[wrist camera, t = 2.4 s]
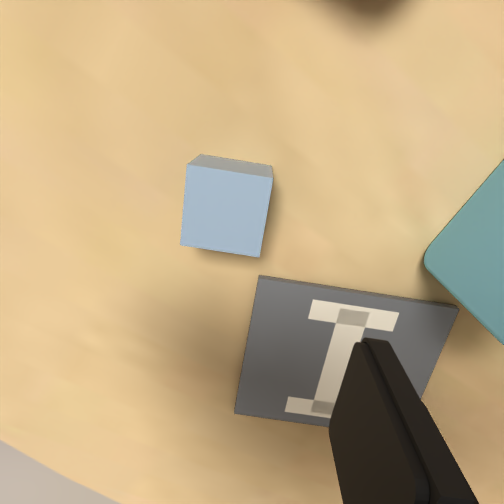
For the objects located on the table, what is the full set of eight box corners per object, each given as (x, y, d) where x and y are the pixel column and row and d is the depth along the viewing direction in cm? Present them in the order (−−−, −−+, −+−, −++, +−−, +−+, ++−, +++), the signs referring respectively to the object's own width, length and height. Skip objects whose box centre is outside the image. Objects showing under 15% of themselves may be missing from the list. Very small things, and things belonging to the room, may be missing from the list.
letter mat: (455, 305, 29) (459, 309, 28) (401, 432, 34) (403, 437, 34) (258, 274, 28) (258, 278, 28) (234, 408, 34) (234, 413, 33)
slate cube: (271, 165, 25) (273, 178, 21) (259, 231, 27) (259, 257, 23) (200, 153, 25) (187, 164, 21) (194, 221, 27) (180, 245, 22)
